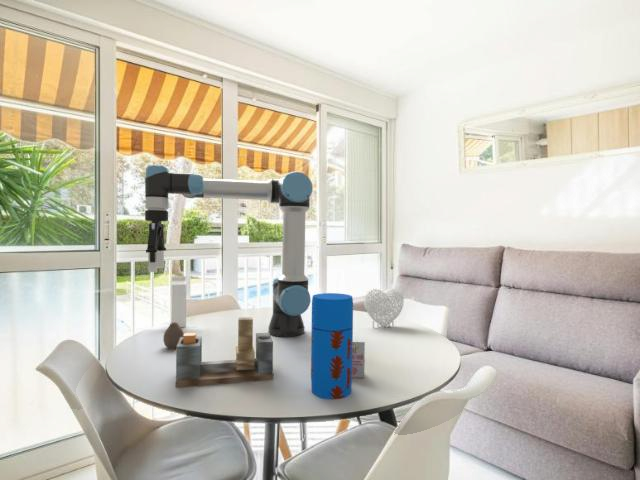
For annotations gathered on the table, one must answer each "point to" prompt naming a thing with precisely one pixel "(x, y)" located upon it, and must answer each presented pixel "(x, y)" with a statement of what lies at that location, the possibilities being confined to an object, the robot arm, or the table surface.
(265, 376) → the rail track
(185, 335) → the button
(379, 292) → the decorative heart
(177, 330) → the vase
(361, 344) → the white printed box
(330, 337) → the thermos
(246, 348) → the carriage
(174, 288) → the milk
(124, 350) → the table surface
